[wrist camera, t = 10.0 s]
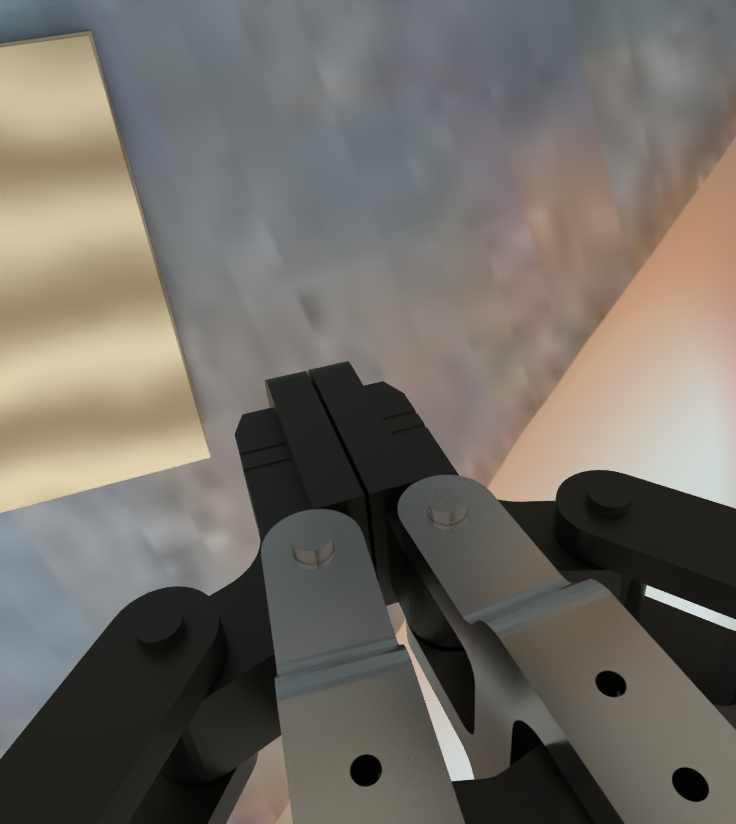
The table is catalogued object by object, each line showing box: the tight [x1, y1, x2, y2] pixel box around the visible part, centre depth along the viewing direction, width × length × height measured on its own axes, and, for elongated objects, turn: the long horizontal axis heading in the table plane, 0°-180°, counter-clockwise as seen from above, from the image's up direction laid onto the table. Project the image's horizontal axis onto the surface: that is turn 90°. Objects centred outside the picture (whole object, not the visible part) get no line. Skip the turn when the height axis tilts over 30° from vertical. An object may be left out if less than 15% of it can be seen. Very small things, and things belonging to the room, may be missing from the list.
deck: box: [0, 31, 210, 513], centre depth 35 cm, size 22×14×4 cm, turn 6°
